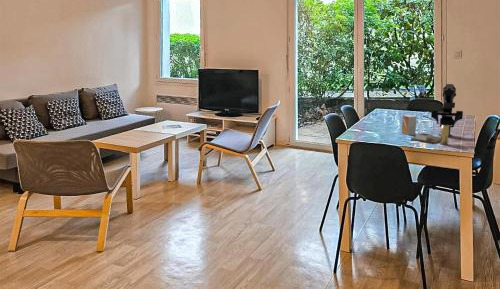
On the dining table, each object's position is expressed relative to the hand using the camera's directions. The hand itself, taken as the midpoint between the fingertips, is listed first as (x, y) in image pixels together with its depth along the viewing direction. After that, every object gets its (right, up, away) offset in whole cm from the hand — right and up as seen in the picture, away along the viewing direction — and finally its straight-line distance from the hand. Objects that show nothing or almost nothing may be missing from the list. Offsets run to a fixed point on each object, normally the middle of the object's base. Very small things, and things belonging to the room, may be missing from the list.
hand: (445, 124), depth 289 cm
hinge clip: (-11, -9, +8) cm, 16 cm away
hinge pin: (-2, -12, -2) cm, 13 cm away
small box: (-13, -5, +32) cm, 35 cm away
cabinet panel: (-7, -10, +10) cm, 16 cm away
